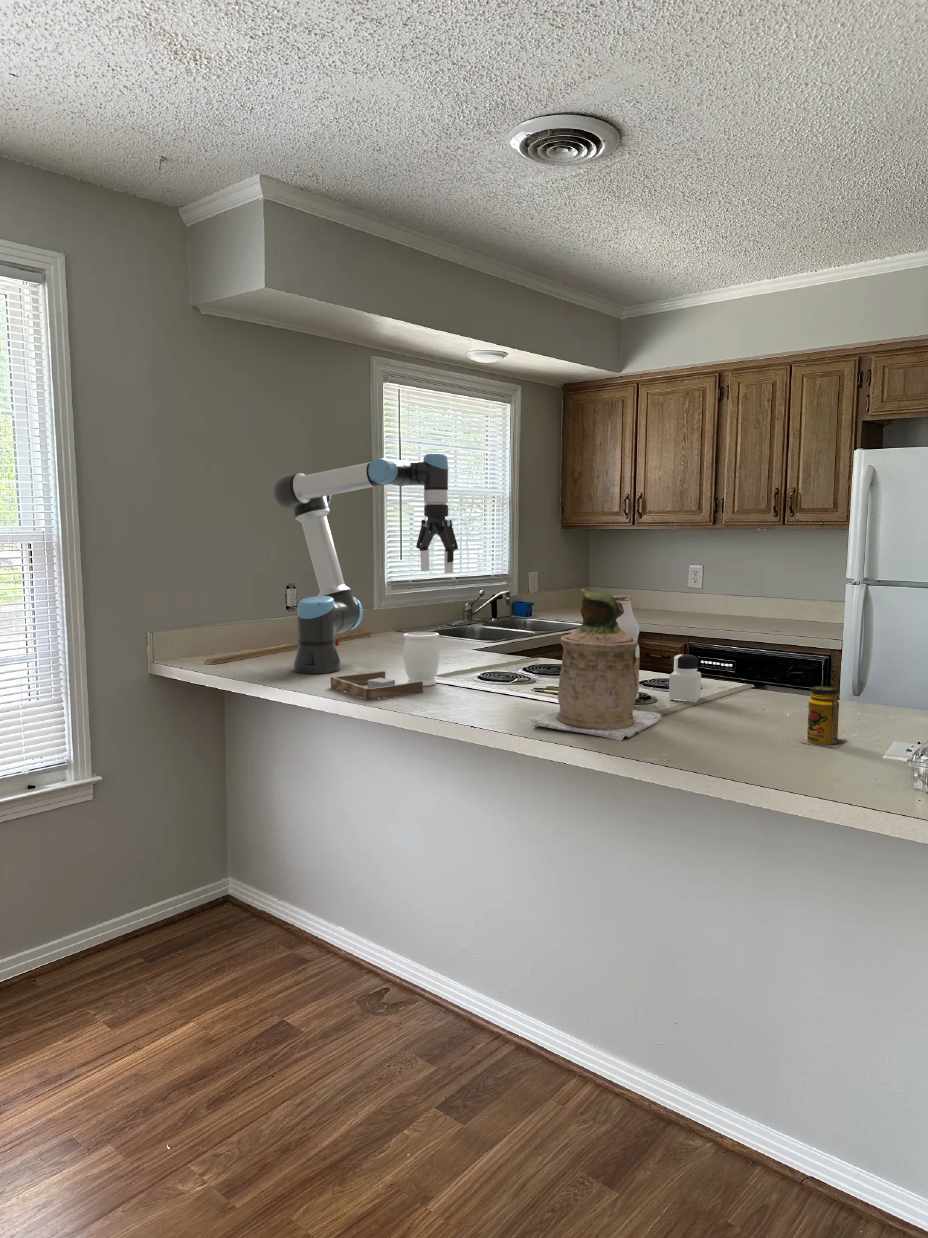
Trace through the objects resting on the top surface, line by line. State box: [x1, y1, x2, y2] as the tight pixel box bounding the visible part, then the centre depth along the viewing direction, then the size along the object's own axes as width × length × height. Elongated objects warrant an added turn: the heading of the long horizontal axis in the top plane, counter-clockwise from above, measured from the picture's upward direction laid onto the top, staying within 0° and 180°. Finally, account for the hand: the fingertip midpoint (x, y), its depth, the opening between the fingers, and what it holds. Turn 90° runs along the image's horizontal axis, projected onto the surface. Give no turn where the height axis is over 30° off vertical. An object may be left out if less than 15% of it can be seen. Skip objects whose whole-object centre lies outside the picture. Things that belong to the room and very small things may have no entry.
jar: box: [402, 631, 441, 687], centre depth 251 cm, size 11×10×15 cm
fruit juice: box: [612, 594, 640, 699], centre depth 226 cm, size 9×9×28 cm
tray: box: [330, 670, 424, 701], centre depth 243 cm, size 22×18×3 cm
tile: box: [367, 677, 396, 688], centre depth 243 cm, size 6×5×3 cm
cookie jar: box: [529, 588, 662, 741], centre depth 200 cm, size 25×25×32 cm
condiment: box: [800, 685, 849, 749], centre depth 184 cm, size 7×8×12 cm
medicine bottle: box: [668, 653, 702, 704], centre depth 228 cm, size 7×7×12 cm
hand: (436, 572), depth 269 cm, fingers open, 13 cm apart
